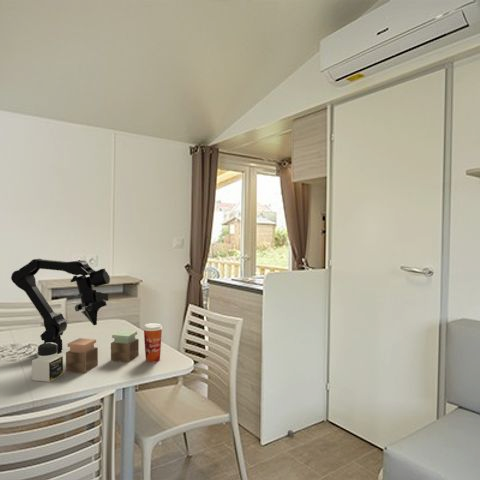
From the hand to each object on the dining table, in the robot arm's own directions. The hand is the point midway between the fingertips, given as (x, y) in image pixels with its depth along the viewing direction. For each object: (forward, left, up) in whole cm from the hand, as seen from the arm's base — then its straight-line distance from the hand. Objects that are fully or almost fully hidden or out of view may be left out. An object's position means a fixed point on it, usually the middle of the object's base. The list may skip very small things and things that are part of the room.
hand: (95, 325), depth 162 cm
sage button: (+9, -13, -9) cm, 18 cm away
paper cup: (+18, -21, -12) cm, 30 cm away
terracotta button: (-8, -16, -9) cm, 20 cm away
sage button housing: (+9, -13, -12) cm, 20 cm away
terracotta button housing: (-8, -16, -12) cm, 22 cm away
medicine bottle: (-20, -19, -12) cm, 31 cm away
